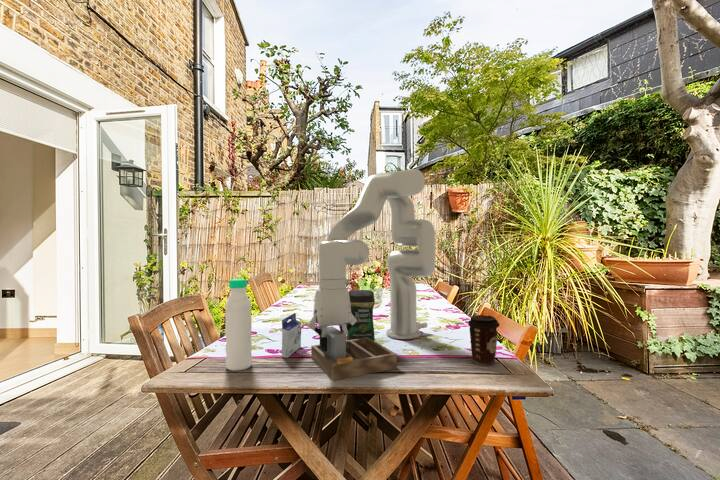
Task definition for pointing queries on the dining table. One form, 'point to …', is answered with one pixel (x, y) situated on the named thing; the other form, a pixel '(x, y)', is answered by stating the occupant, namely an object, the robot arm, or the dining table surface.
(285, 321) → the ink box
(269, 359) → the dining table surface
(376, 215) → the robot arm
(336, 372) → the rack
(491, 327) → the coffee cup
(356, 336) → the coffee jar
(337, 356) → the panel
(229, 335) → the water bottle
